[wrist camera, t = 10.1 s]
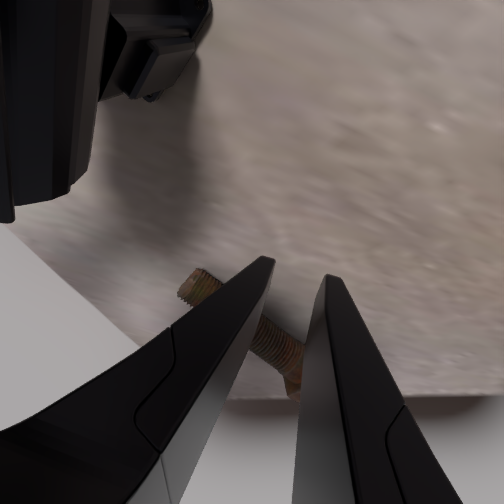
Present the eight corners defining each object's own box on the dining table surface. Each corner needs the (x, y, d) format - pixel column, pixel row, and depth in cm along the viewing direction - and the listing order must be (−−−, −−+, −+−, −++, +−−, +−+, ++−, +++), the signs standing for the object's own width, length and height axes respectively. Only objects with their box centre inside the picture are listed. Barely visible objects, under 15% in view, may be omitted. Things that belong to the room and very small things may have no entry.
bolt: (208, 250, 28) (324, 340, 30) (176, 289, 28) (291, 374, 31) (200, 268, 22) (343, 377, 25) (159, 316, 23) (302, 417, 25)
